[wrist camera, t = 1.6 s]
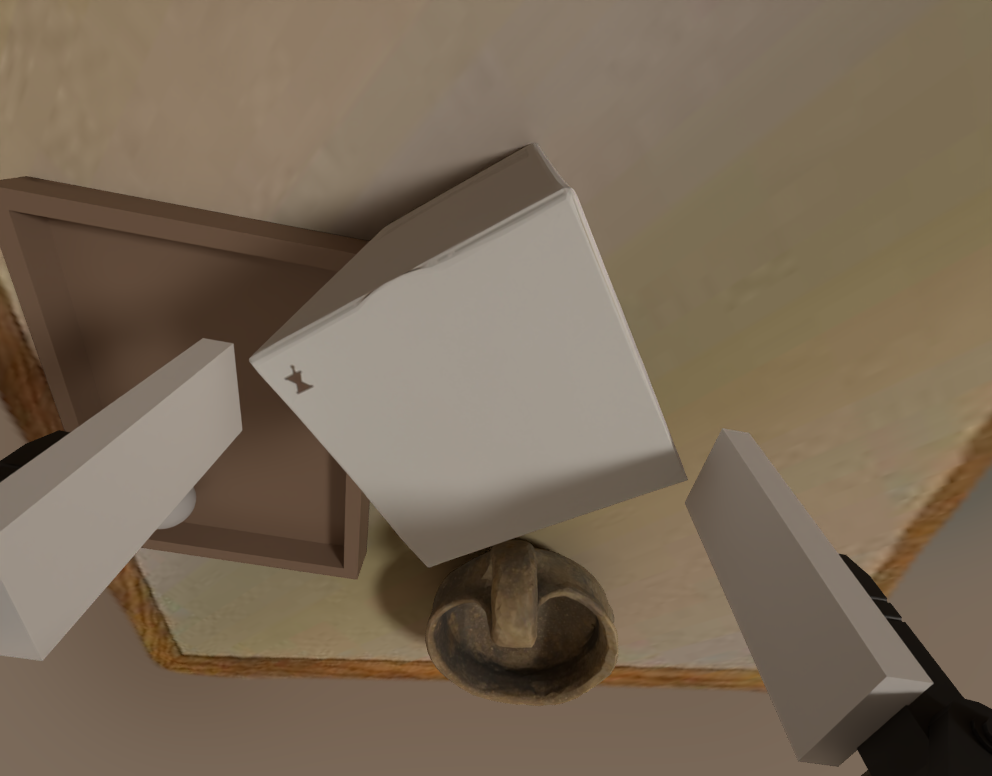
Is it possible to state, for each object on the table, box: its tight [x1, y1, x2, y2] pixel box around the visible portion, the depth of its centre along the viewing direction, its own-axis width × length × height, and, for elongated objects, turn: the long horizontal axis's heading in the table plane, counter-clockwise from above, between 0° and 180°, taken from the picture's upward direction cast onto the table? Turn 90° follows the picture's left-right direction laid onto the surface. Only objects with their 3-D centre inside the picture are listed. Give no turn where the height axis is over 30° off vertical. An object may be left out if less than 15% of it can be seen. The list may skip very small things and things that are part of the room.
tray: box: [0, 176, 370, 579], centre depth 29 cm, size 24×18×2 cm
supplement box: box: [249, 143, 688, 568], centre depth 19 cm, size 9×9×15 cm
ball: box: [157, 487, 196, 529], centre depth 32 cm, size 4×4×4 cm
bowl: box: [425, 540, 618, 706], centre depth 33 cm, size 14×18×10 cm
